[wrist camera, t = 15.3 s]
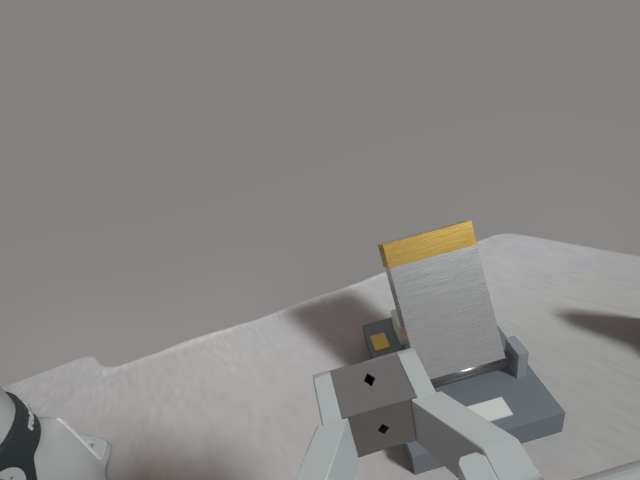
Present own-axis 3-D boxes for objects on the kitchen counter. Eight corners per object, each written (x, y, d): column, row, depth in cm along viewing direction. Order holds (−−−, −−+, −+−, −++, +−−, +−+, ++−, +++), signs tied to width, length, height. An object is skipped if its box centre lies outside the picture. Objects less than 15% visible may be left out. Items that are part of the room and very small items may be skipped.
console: (561, 431, 41) (569, 388, 38) (414, 474, 41) (409, 435, 37) (473, 311, 57) (473, 273, 53) (365, 341, 56) (358, 305, 52)
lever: (514, 370, 42) (475, 219, 42) (419, 397, 42) (378, 245, 42) (502, 362, 45) (464, 220, 45) (412, 388, 44) (374, 245, 44)
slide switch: (425, 338, 50) (423, 317, 48) (401, 345, 50) (398, 324, 48) (416, 322, 53) (414, 301, 51) (393, 328, 53) (390, 307, 51)
